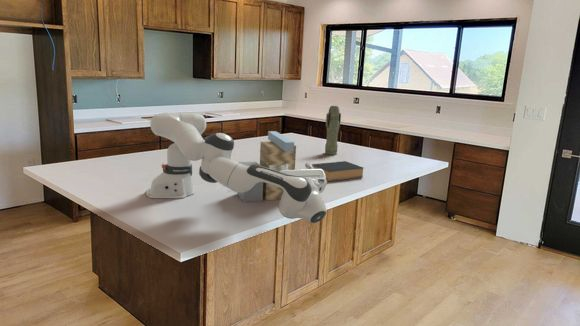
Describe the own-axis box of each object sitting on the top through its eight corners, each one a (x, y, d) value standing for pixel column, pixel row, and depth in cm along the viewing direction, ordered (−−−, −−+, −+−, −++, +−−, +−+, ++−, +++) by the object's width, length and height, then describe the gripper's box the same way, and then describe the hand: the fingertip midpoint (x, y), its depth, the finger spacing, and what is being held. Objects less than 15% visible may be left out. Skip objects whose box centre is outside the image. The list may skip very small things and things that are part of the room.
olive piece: (320, 153, 320) (324, 105, 312) (332, 151, 327) (336, 105, 319) (328, 155, 313) (332, 107, 305) (340, 154, 320) (344, 106, 312)
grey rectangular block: (243, 202, 202) (244, 168, 199) (237, 193, 214) (238, 162, 210) (262, 200, 205) (263, 168, 202) (254, 192, 217) (255, 161, 214)
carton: (265, 200, 207) (268, 146, 201) (258, 192, 218) (260, 141, 212) (293, 198, 212) (296, 145, 206) (284, 191, 223) (287, 140, 217)
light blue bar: (285, 151, 194) (285, 142, 193) (267, 139, 217) (268, 131, 216) (293, 151, 195) (294, 142, 194) (275, 139, 219) (275, 131, 218)
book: (311, 175, 259) (312, 164, 257) (344, 171, 272) (345, 161, 270) (328, 182, 244) (329, 171, 243) (362, 178, 257) (363, 167, 256)
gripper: (281, 194, 177) (272, 170, 186) (326, 191, 185) (316, 168, 194) (284, 183, 173) (275, 159, 182) (330, 181, 180) (320, 158, 190)
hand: (297, 164), depth 188 cm, fingers open, 8 cm apart
